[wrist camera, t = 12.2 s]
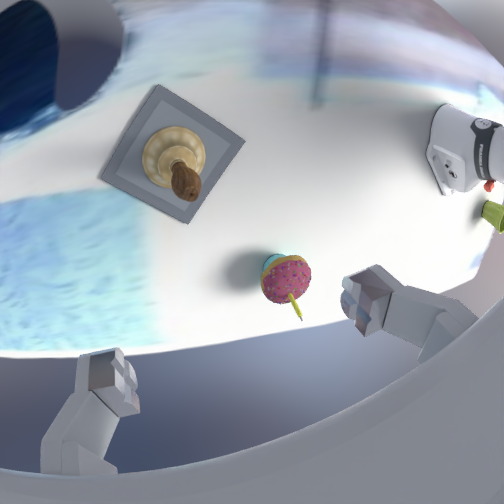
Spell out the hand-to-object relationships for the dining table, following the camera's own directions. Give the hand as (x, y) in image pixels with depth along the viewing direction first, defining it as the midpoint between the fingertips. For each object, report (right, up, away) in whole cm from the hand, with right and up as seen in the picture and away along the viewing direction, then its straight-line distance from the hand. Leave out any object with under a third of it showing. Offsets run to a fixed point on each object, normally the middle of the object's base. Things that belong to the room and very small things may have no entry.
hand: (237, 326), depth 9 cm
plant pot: (+76, +17, +58) cm, 97 cm away
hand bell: (-10, +15, +25) cm, 30 cm away
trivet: (-10, +15, +25) cm, 31 cm away
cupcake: (+4, 0, +40) cm, 40 cm away
